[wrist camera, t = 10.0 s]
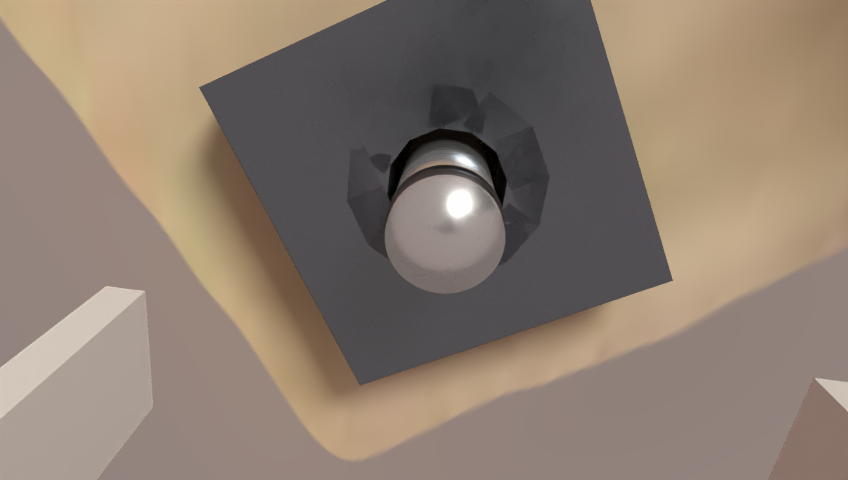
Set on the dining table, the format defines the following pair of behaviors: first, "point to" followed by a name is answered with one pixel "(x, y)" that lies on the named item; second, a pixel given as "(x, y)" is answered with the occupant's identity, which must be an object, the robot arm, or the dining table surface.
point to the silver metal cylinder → (445, 215)
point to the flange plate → (456, 110)
